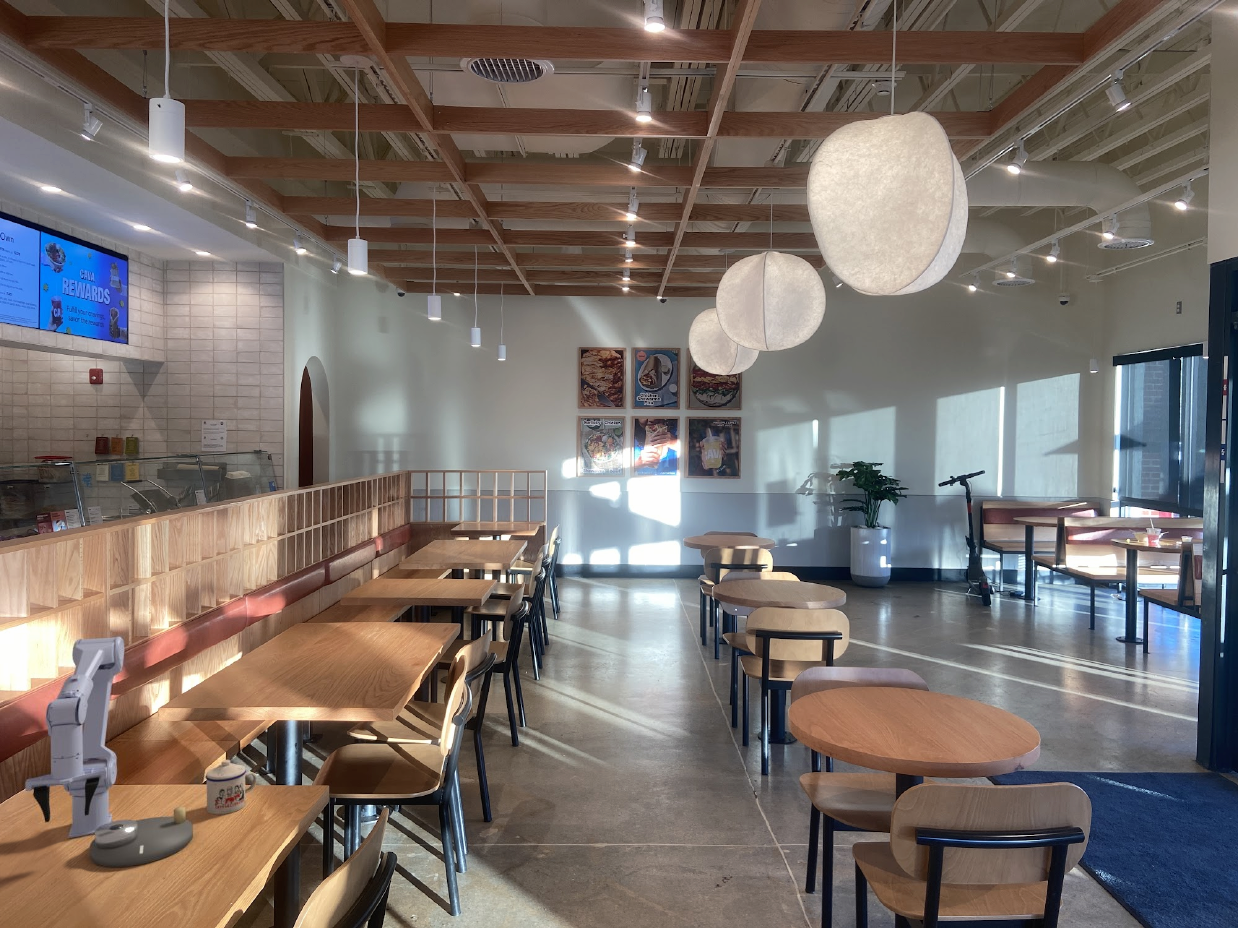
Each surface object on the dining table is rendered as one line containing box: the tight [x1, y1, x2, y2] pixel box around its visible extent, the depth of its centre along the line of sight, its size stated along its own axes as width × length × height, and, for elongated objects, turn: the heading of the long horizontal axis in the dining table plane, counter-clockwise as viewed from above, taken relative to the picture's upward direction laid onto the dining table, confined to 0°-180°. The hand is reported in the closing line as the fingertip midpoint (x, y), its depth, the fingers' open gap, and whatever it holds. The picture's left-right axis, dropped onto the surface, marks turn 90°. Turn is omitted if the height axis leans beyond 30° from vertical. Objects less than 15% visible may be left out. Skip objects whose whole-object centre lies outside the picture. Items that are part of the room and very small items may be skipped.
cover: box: [94, 819, 137, 849], centre depth 184 cm, size 8×8×3 cm
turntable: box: [89, 806, 194, 868], centre depth 186 cm, size 20×20×5 cm
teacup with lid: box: [205, 759, 258, 815], centre depth 207 cm, size 12×9×12 cm
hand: (67, 816), depth 179 cm, fingers open, 6 cm apart
